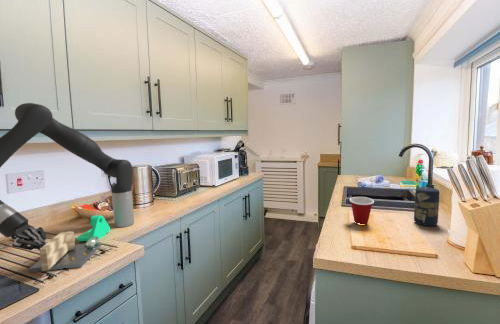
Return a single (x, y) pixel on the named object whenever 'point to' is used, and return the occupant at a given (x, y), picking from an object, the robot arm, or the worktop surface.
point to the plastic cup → (361, 209)
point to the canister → (426, 206)
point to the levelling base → (72, 256)
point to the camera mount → (95, 228)
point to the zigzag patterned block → (56, 249)
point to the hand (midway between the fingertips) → (49, 252)
